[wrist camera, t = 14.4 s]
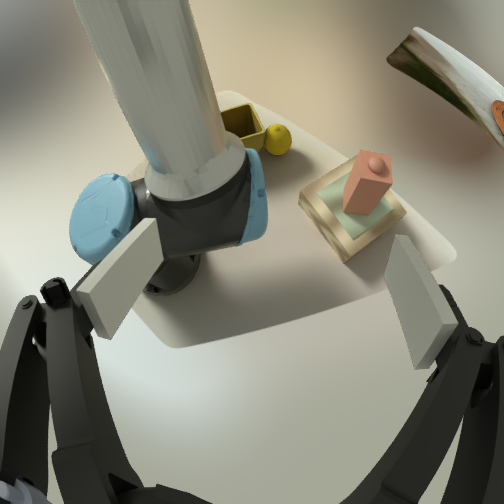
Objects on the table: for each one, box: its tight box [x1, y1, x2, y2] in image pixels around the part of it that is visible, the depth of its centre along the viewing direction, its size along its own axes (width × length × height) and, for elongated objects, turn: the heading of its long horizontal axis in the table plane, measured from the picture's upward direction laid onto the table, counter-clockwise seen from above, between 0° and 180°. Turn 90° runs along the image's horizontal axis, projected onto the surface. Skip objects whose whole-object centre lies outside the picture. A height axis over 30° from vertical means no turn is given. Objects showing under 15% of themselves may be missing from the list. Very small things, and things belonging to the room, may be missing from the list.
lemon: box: [264, 124, 292, 155], centre depth 50 cm, size 6×6×8 cm
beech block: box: [298, 156, 407, 264], centre depth 47 cm, size 14×14×6 cm
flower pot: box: [220, 103, 265, 153], centre depth 51 cm, size 9×9×9 cm
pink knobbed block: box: [343, 150, 393, 216], centre depth 38 cm, size 4×4×13 cm
